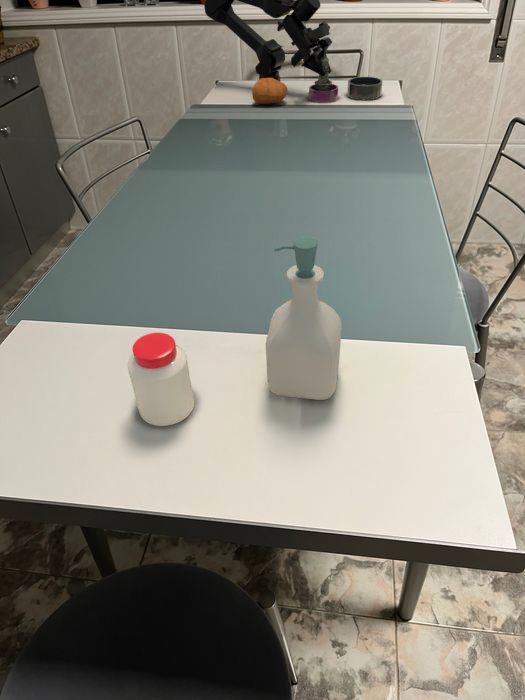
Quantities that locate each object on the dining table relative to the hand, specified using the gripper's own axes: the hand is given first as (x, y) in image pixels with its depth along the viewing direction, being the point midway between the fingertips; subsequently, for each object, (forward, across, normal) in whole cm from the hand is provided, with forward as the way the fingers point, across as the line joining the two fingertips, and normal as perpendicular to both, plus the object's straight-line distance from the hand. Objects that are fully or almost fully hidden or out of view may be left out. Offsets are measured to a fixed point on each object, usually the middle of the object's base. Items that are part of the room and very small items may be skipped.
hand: (327, 74), depth 180 cm
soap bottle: (+47, -124, -37) cm, 138 cm away
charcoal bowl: (+12, +9, -2) cm, 15 cm away
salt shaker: (+4, 0, +6) cm, 7 cm away
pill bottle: (+37, -138, -27) cm, 145 cm away
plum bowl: (+5, 0, +6) cm, 8 cm away
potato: (-5, -12, +16) cm, 21 cm away
